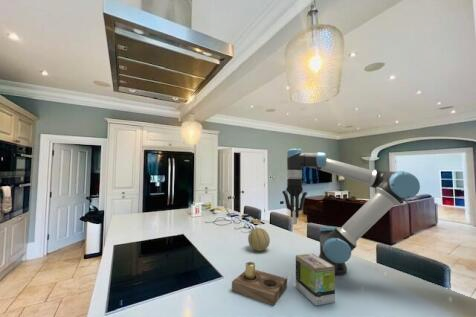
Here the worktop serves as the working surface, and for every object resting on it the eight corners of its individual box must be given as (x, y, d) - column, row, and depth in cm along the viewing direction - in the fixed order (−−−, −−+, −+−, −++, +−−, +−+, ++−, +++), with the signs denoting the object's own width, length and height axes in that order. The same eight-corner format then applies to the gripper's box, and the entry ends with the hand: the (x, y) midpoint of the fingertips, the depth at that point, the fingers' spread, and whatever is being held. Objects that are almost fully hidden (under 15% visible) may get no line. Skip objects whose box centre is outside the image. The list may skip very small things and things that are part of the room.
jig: (248, 275, 110) (248, 267, 110) (286, 287, 99) (286, 278, 100) (231, 290, 96) (231, 281, 96) (273, 305, 86) (273, 295, 86)
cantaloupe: (267, 255, 136) (267, 231, 137) (245, 252, 141) (245, 229, 142) (271, 248, 150) (271, 226, 151) (251, 245, 155) (251, 224, 156)
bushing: (248, 282, 103) (248, 261, 104) (256, 285, 101) (256, 263, 102) (243, 286, 100) (244, 264, 100) (252, 289, 97) (252, 266, 98)
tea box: (336, 302, 88) (335, 265, 89) (315, 306, 86) (314, 268, 86) (313, 283, 103) (313, 252, 104) (294, 287, 100) (294, 254, 101)
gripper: (280, 178, 114) (280, 223, 112) (305, 178, 107) (305, 227, 105) (284, 177, 120) (285, 220, 119) (308, 178, 113) (309, 223, 112)
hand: (294, 223), depth 112 cm, fingers closed
